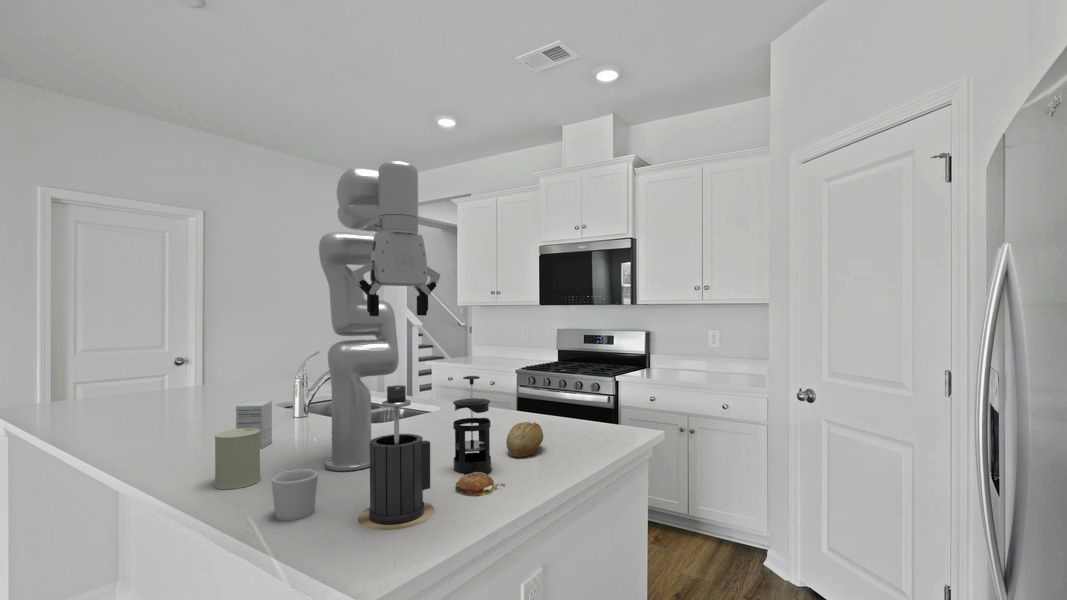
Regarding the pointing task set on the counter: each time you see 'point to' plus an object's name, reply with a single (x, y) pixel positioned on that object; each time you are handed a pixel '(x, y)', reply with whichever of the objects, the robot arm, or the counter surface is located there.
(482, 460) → the french press
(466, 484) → the hamburger
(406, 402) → the plunger
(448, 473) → the counter surface
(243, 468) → the can
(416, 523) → the trivet
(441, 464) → the counter surface
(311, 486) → the cup
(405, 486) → the dark slatted tankard
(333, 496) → the counter surface
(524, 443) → the bread roll
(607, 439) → the counter surface
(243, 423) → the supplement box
